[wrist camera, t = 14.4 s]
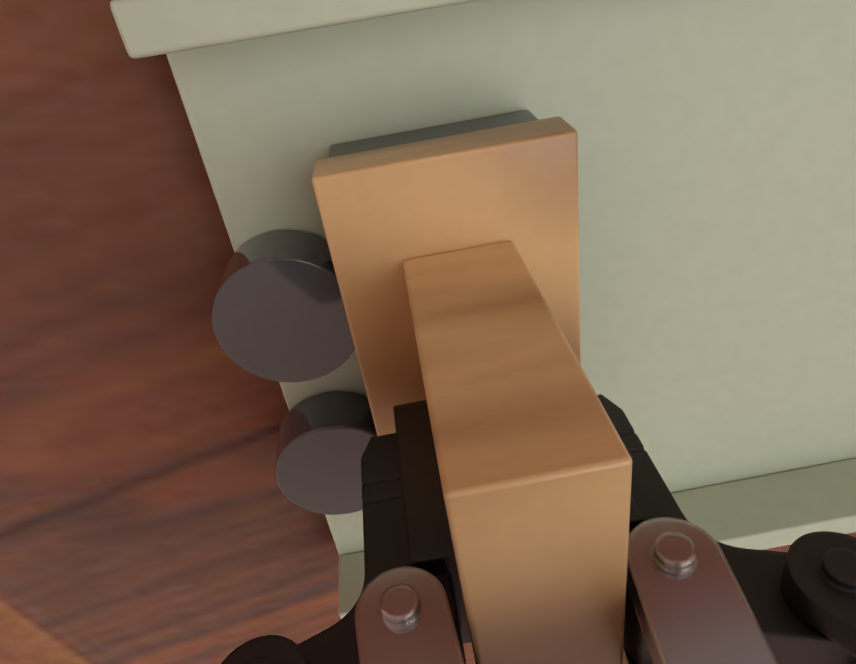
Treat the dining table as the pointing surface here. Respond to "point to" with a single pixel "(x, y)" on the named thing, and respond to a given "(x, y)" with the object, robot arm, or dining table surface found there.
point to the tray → (596, 203)
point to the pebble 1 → (282, 308)
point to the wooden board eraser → (490, 368)
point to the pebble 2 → (324, 452)
